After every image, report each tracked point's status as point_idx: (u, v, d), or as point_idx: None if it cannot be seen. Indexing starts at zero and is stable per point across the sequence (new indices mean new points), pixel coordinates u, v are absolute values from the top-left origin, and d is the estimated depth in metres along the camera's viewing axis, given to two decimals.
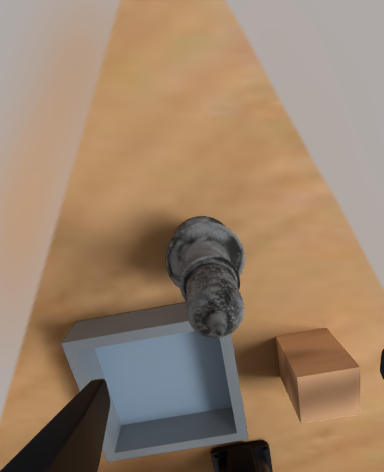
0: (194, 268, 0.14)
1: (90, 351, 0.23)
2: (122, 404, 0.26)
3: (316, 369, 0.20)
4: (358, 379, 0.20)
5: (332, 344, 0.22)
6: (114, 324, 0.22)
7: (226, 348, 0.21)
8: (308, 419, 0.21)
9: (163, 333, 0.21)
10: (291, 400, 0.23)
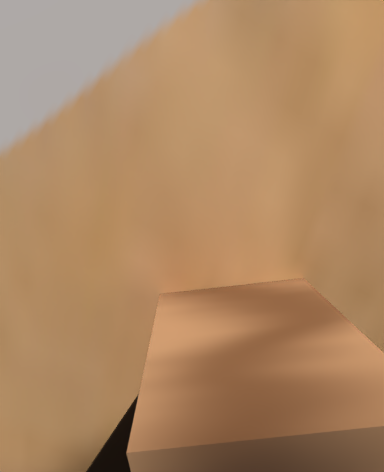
0: None
1: None
2: None
3: None
4: (208, 450, 0.04)
5: None
6: None
7: None
8: None
9: None
10: None
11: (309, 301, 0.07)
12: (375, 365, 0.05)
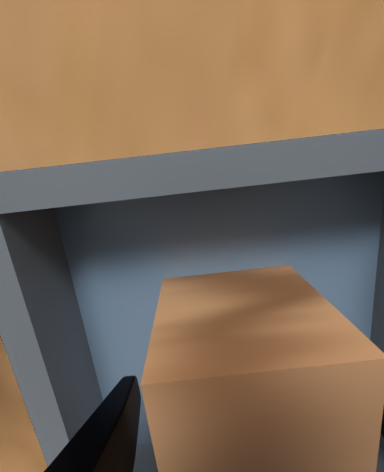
0: None
1: (145, 463, 0.11)
2: None
3: None
4: (202, 383, 0.05)
5: None
6: None
7: (82, 187, 0.06)
8: None
9: (35, 362, 0.08)
10: None
11: (291, 282, 0.08)
12: (337, 326, 0.06)
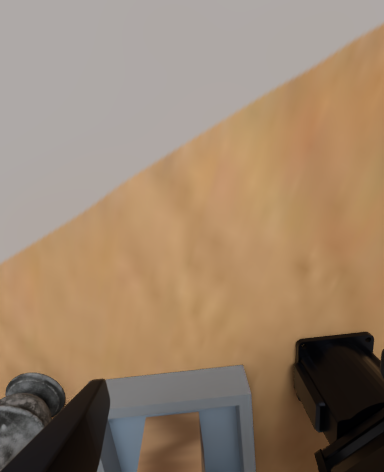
0: None
1: None
2: (213, 469, 0.25)
3: None
4: None
5: None
6: None
7: (117, 414, 0.20)
8: None
9: None
10: None
11: (193, 427, 0.22)
12: (196, 458, 0.20)
